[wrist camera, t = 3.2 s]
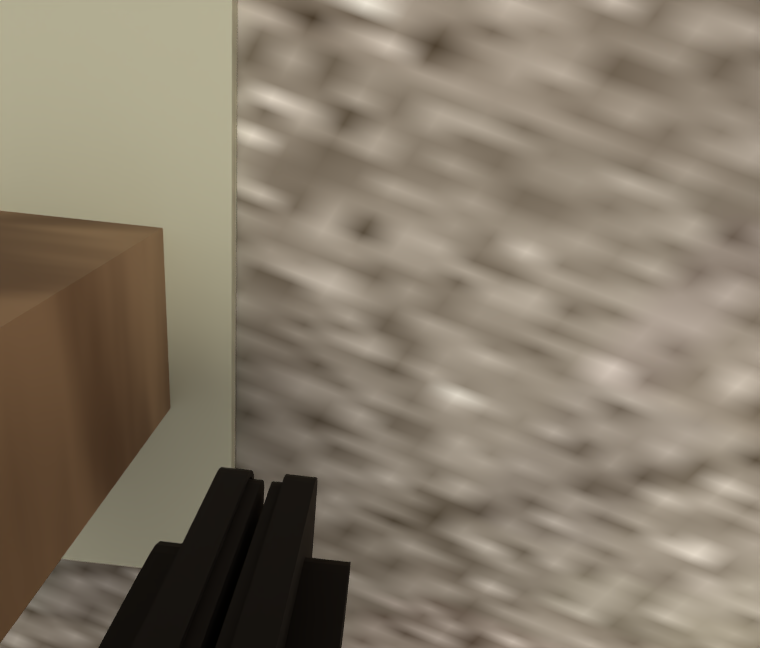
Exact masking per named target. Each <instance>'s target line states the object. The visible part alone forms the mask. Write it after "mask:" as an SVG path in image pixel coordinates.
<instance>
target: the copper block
mask: <svg viewBox="0 0 760 648" xmlns="http://www.w3.org/2000/svg"><path fill="white" fill-rule="evenodd" d="M169 410H170V385H169V362H168V338H167V315H166V291H165V268H164V244H163V228H159V227H149V226H140V225H131V224H121V223H112V222H102V221H93V220H84V219H74V218H65V217H55V216H46V215H37V214H27V213H18V212H8V211H0V643H1V641H2V640H3V638H4V637H5V636H6V634H7V633H8V632H9V630H10V629H11V627H12V626H13V625H14V623H15V622H16V620H17V619H18V618H19V616H20V615H21V614H22V612H23V611H24V609H25V608H26V607H27V605H28V604H29V603H30V601H31V600H32V598H33V597H34V596H35V594H36V593H37V592H38V590H39V589H40V587H41V586H42V585H43V583H44V582H45V581H46V579H47V578H48V576H49V575H50V574H51V572H52V571H53V569H54V568H55V567H56V565H57V564H58V563H59V561H60V560H61V558H62V557H63V556H64V554H65V553H66V552H67V550H68V549H69V547H70V546H71V545H72V543H73V542H74V541H75V539H76V538H77V536H78V535H79V534H80V532H81V531H82V530H83V528H84V527H85V525H86V524H87V523H88V521H89V520H90V518H91V517H92V516H93V514H94V513H95V512H96V510H97V509H98V507H99V506H100V505H101V503H102V502H103V501H104V499H105V498H106V496H107V495H108V494H109V492H110V491H111V490H112V488H113V487H114V485H115V484H116V483H117V481H118V480H119V479H120V477H121V476H122V474H123V473H124V472H125V470H126V469H127V468H128V466H129V465H130V463H131V462H132V461H133V459H134V458H135V456H136V455H137V454H138V452H139V451H140V450H141V448H142V447H143V445H144V444H145V443H146V441H147V440H148V439H149V437H150V436H151V434H152V433H153V432H154V430H155V429H156V428H157V426H158V425H159V423H160V422H161V421H162V419H163V418H164V417H165V415H166V414H167V412H168V411H169Z"/></svg>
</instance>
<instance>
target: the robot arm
mask: <svg viewBox="0 0 760 648" xmlns="http://www.w3.org/2000/svg"><path fill="white" fill-rule="evenodd" d="M316 495H317V478H316V477H307V476H298V475H289V474H286V475H285V477H284V480H283V482H274V481H273V482H272V483H271V485H270V488H269V491H268V494H267V497H266V500H265V503H264V481H263V480H256V479H254V474H253V471H252V470H244V469H235V468H226V467H220V468H219V470H218V471H217V473H216V475H215V477H214V479H213V481H212V483H211V485H210V487H209V489H208V491H207V493H206V496H205V498H204V500H203V502H202V504H201V506H200V508H199V510H198V512H197V514H196V516H195V518H194V520H193V522H192V524H191V526H190V528H189V530H188V533H187V535H186V537H185V539H184V541H183V543H173V542H164V541H159V542H158V543H157V544H156V545H155V546H154V548H153V549H152V551H151V552H150V554H149V556H148V558H147V559H146V561H145V563H144V565H143V567H142V569H141V571H140V572H139V574H138V576H137V578H136V580H135V582H134V583H133V585H132V587H131V589H130V591H129V593H128V594H127V596H126V598H125V600H124V602H123V604H122V605H121V607H120V609H119V611H118V613H117V615H116V616H115V618H114V620H113V622H112V624H111V626H110V627H109V629H108V631H107V633H106V635H105V637H104V639H103V640H102V642H101V644H100V646H99V648H341V646H342V638H343V629H344V620H345V611H346V602H347V593H348V583H349V574H350V563H351V562H343V561H334V560H325V559H316V558H312V551H313V537H314V523H315V509H316ZM263 505H264V506H263Z"/></svg>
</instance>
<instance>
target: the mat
mask: <svg viewBox="0 0 760 648" xmlns="http://www.w3.org/2000/svg"><path fill="white" fill-rule="evenodd" d="M236 197H237V0H0V211H8V212H18V213H27V214H37V215H46V216H55V217H65V218H74V219H84V220H93V221H102V222H112V223H121V224H131V225H140V226H149V227H159V228H163V244H164V268H165V291H166V315H167V338H168V362H169V385H170V410H169V411H168V412H167V414H166V415H165V417H164V418H163V419H162V421H161V422H160V423H159V425H158V426H157V428H156V429H155V430H154V432H153V433H152V434H151V436H150V437H149V439H148V440H147V441H146V443H145V444H144V445H143V447H142V448H141V450H140V451H139V452H138V454H137V455H136V456H135V458H134V459H133V461H132V462H131V463H130V465H129V466H128V468H127V469H126V470H125V472H124V473H123V474H122V476H121V477H120V479H119V480H118V481H117V483H116V484H115V485H114V487H113V488H112V490H111V491H110V492H109V494H108V495H107V496H106V498H105V499H104V501H103V502H102V503H101V505H100V506H99V507H98V509H97V510H96V512H95V513H94V514H93V516H92V517H91V518H90V520H89V521H88V523H87V524H86V525H85V527H84V528H83V530H82V531H81V532H80V534H79V535H78V536H77V538H76V539H75V541H74V542H73V543H72V545H71V546H70V547H69V549H68V550H67V552H66V553H65V554H64V556H63V557H62V558H61V559H65V560H74V561H83V562H92V563H101V564H110V565H119V566H128V567H137V568H142V567H143V565H144V563H145V561H146V559H147V558H148V556H149V554H150V552H151V551H152V549H153V548H154V546H155V545H156V544H157V543H158V542H159V541H164V542H173V543H183V541H184V539H185V537H186V535H187V533H188V530H189V528H190V526H191V524H192V522H193V520H194V518H195V516H196V514H197V512H198V510H199V508H200V506H201V504H202V502H203V500H204V498H205V496H206V493H207V491H208V489H209V487H210V485H211V483H212V481H213V479H214V477H215V475H216V473H217V471H218V470H219V468H220V467H226V468H235V406H236Z"/></svg>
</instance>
